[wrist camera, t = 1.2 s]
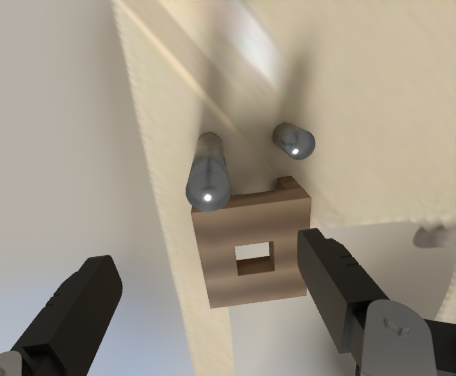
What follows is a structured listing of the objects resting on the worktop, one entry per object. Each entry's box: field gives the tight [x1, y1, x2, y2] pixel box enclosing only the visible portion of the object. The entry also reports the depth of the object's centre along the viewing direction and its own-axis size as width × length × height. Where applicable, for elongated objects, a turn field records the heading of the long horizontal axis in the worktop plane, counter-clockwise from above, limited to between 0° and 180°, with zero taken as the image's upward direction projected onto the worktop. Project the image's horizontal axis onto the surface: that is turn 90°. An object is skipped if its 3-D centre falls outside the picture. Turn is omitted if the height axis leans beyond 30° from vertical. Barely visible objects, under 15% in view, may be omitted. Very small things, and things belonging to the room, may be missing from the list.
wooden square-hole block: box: [191, 176, 311, 309], centre depth 32 cm, size 16×14×7 cm
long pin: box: [186, 132, 231, 212], centre depth 23 cm, size 3×3×15 cm
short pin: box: [272, 123, 315, 160], centre depth 27 cm, size 3×3×6 cm
